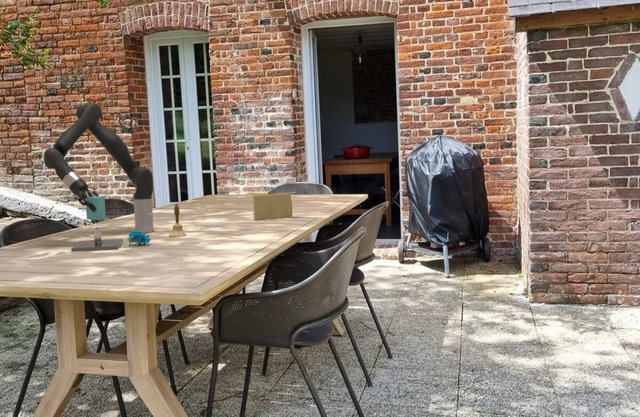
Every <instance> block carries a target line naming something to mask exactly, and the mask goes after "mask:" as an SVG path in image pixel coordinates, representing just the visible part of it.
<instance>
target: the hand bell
mask: <svg viewBox="0 0 640 417" xmlns="http://www.w3.org/2000/svg"><path fill="white" fill-rule="evenodd" d="M178 204H179V203H176V204H174V208H173V212H174V215H175V216H174V217H175V223H174V224H173V225H172V230H171V232H170V234H169V237H171V238H179V237H181V238H182V237H186V236H187V233H185V232H184V230H183V225H182V224H181V223H180V218H179V217H180V207H179V205H178Z"/></svg>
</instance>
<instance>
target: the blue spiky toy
mask: <svg viewBox="0 0 640 417" xmlns="http://www.w3.org/2000/svg"><path fill="white" fill-rule="evenodd" d="M127 240H128V242H129V243H128V244H127V245H128V247H131V244H132V243H135V247H136V246H139V245H141V244H143V245H146V244H149V242H151V237H150V235H149V234H147V232H141V231H138V232H136V231H135V229H134V230H133V231H130V232H129V234H128V237H127Z"/></svg>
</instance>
